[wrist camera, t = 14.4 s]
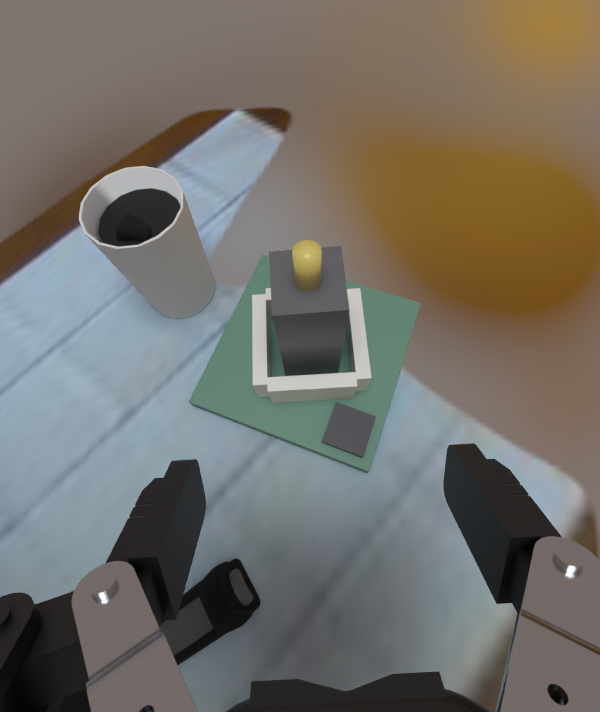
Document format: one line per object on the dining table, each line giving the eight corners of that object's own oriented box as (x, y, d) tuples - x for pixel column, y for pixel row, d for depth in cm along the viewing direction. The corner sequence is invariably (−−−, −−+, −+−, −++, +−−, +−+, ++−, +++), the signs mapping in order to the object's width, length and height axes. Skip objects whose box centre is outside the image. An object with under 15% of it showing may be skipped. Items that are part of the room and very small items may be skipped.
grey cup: (212, 326, 32) (170, 252, 23) (135, 320, 32) (64, 245, 23) (226, 260, 34) (193, 168, 25) (154, 255, 35) (96, 163, 26)
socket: (258, 403, 28) (252, 392, 26) (257, 308, 31) (252, 289, 28) (366, 397, 28) (372, 385, 25) (355, 302, 31) (359, 282, 28)
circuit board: (192, 405, 30) (186, 399, 28) (263, 261, 34) (261, 250, 33) (367, 472, 27) (370, 470, 26) (417, 309, 32) (422, 299, 30)
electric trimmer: (22, 697, 24) (-20, 724, 21) (237, 552, 26) (227, 558, 23) (41, 764, 22) (-1, 804, 19) (264, 606, 25) (257, 620, 22)
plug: (285, 377, 29) (266, 291, 17) (282, 329, 30) (263, 221, 19) (338, 373, 29) (354, 284, 17) (333, 325, 30) (344, 215, 19)
